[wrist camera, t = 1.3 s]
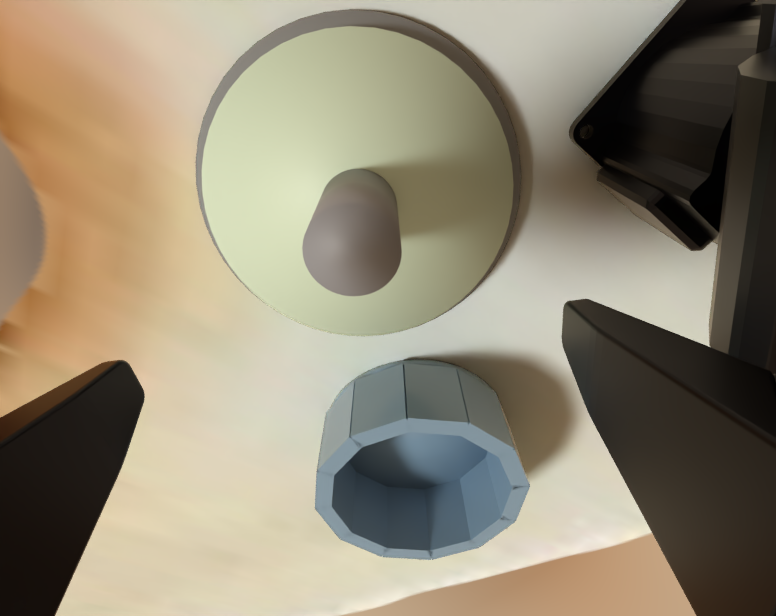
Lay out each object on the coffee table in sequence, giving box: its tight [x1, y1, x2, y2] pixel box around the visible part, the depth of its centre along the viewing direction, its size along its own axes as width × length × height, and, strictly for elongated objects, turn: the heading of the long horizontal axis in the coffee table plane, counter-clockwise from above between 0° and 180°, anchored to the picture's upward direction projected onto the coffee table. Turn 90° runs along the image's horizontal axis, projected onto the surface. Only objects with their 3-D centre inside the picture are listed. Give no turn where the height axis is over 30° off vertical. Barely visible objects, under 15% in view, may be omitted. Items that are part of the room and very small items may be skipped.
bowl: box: [315, 359, 530, 560], centre depth 23 cm, size 10×10×4 cm
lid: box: [202, 26, 514, 336], centre depth 16 cm, size 12×12×5 cm
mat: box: [196, 10, 521, 326], centre depth 18 cm, size 13×13×1 cm
